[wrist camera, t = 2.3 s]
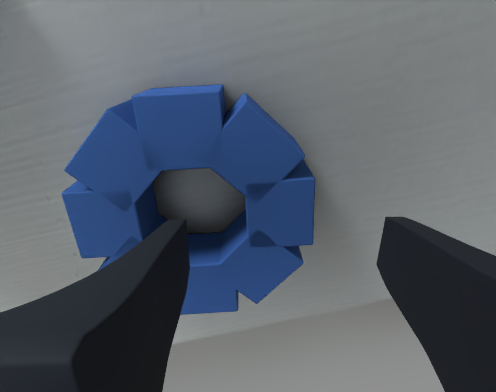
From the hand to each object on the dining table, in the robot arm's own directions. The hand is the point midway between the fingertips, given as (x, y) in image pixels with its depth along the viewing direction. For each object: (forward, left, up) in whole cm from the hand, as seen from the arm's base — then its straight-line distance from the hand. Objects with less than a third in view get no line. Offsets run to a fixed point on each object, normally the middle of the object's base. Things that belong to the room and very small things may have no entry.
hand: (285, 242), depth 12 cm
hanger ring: (+4, 0, -5) cm, 6 cm away
